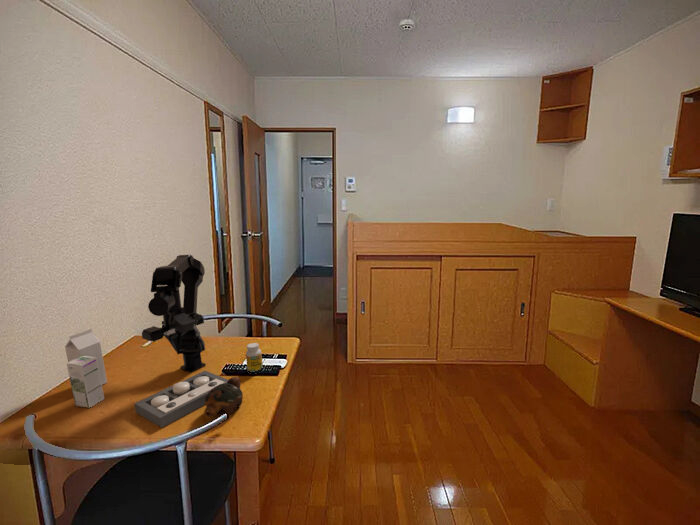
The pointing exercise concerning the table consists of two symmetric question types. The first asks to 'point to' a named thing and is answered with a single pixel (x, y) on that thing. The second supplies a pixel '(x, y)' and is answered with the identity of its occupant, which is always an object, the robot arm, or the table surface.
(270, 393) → the table surface
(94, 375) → the syrup box
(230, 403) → the decorative turtle
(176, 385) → the button
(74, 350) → the milk carton
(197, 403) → the board
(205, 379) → the button
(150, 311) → the robot arm
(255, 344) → the supplement bottle
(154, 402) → the button
